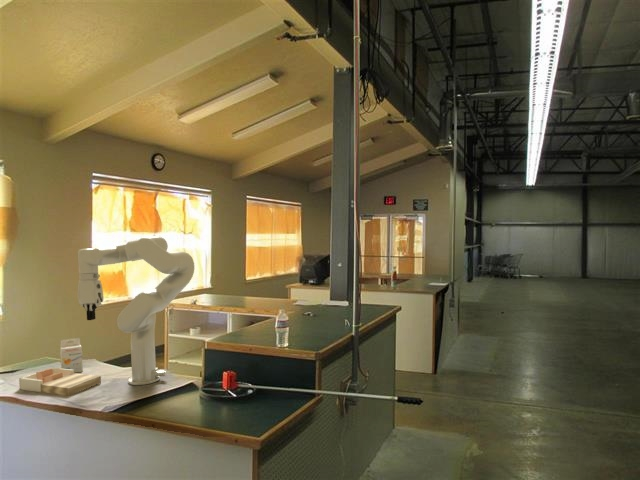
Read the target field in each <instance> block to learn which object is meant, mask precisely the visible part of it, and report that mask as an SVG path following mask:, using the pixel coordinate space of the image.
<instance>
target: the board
mask: <svg viewBox="0 0 640 480" xmlns="http://www.w3.org/2000/svg"><path fill="white" fill-rule="evenodd" d="M101 378H102V377H101V375H94V374H85V373H79V372H76V373H73V374H70V375H67V376H64V377H61V378H58V379H55V380H52V381H49V382H47V383H44V384H41V392H40V393H46V394H53V395H59V396H65V397H66V396H68V397H69V396H72V395H75V394H77V393H80V392H82V391H84V389H85V390H87V389H90V388H91V386H92V387H94V385H95V386H97V385H96V384H98V385H100V384H101V383H102V379H101ZM99 383H100V384H99ZM89 387H90V388H89ZM86 388H87V389H86ZM81 390H82V391H81ZM79 391H80V392H79ZM76 392H77V393H76Z"/></svg>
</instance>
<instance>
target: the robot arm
mask: <svg viewBox="0 0 640 480" xmlns="http://www.w3.org/2000/svg"><path fill="white" fill-rule="evenodd" d="M167 250H168V242H167V241H166V239H165V238H164V237H161V236H156V235H155V236H154V235H153V236H144V237H143V236H142V237H141V238H140V239H134V240H133V239H132V240H129V241H128V242H126V244H122V245H116V246H107V247H106V246H105V247H96V248H80V249H78V251H77V255H78V256H77V262H78V276H79V277H78V278H79V280H78V284H77V285H78V286H77V301H78V304H79V306H80V307H83V308H84V311H86V320H87V321H93V320H96V310H97V308H98V307H101V306H102V303H103V302H104V291H103V285H102V282H101V279H99V278H100V277H101V276H100V274H99V266H108V265H115V264H121V263H127V262H130V261H131V262H135V261H141V260H143V261H144V262H145V263H147V264H148V265H150V266H151V267H153V268H154V269H155V270H157V271H158V272H160V273H162V274H165V275H167V276H166V277H164V279H162V281H160V283H159V284H158V285H157V286H155V287H154V288H152V289H150V290H146V291H142V292H140V293H138V294H137V295H136V296H135V297H133V299H132V300H131V301H130V302H129V303H128V304H126V306H125V307H124V308H123V309H122V310H121V312H120V313H119V314H118V316H117V319H116V324H117V328H118V329H119V330H120V331H121V332H122V333H126V334H129V333H130V334H131V335H130V356H131V357H130V358H131V361H130V362H131V377H129V378H128V380H127V383H128V384H129V385H132V386H133V385H134V386H145V385H150V384H154V383H157V382H158V381H160V379H161V377H166V376H167V372H166V371H165V370H159V368H158V367H156V366H157V365H156V364H157V363H156V345H155V343H156V342H155V340H156V337H155V335H156V334H155V331H156V322H157V314H156V313H161V312H162V311H164V310H165V309H166V308H167V307H168V306H169V305H170V304H171V303H172V302H173V301H174V300H175V298H176V297H177V296H178V295H180V293H181V292H182V291H183V289H185V288H186V286H188V284H189V283H190V282H191V280H192V279H193V276H194V275H195V274H194V273H195V261H194V259H193V257H192V256H191V254H189V253H188V252H186V251H171V252H168V251H167Z"/></svg>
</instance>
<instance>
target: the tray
mask: <svg viewBox="0 0 640 480" xmlns="http://www.w3.org/2000/svg"><path fill="white" fill-rule="evenodd" d="M51 368H52V372H53V374H56V373H62V374H63V377H64V376H67V375H70V374H73V373H74V370H73V369H63V368H61V367H50V368H49V369H51ZM18 382H19V383H18V384H19V390H22V391H23V390H24V391H30V392H38V393H42V392H41V384H43V380H37V376H36V372H35V373H31V374H29V375H25V376H21V377H19V378H18Z"/></svg>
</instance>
